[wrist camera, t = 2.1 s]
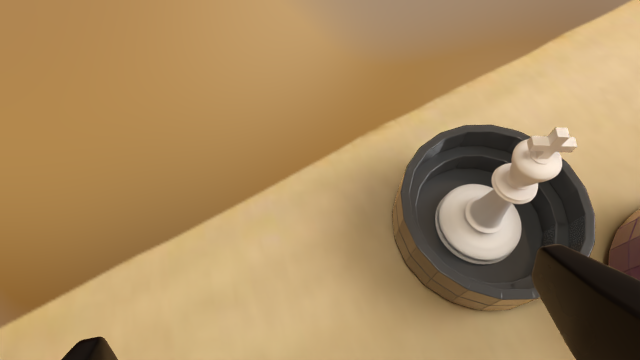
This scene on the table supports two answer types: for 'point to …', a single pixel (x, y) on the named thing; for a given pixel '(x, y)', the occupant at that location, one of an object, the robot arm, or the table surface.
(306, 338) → the table surface
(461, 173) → the charcoal bowl
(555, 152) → the chess piece
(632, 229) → the plum bowl
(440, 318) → the table surface
